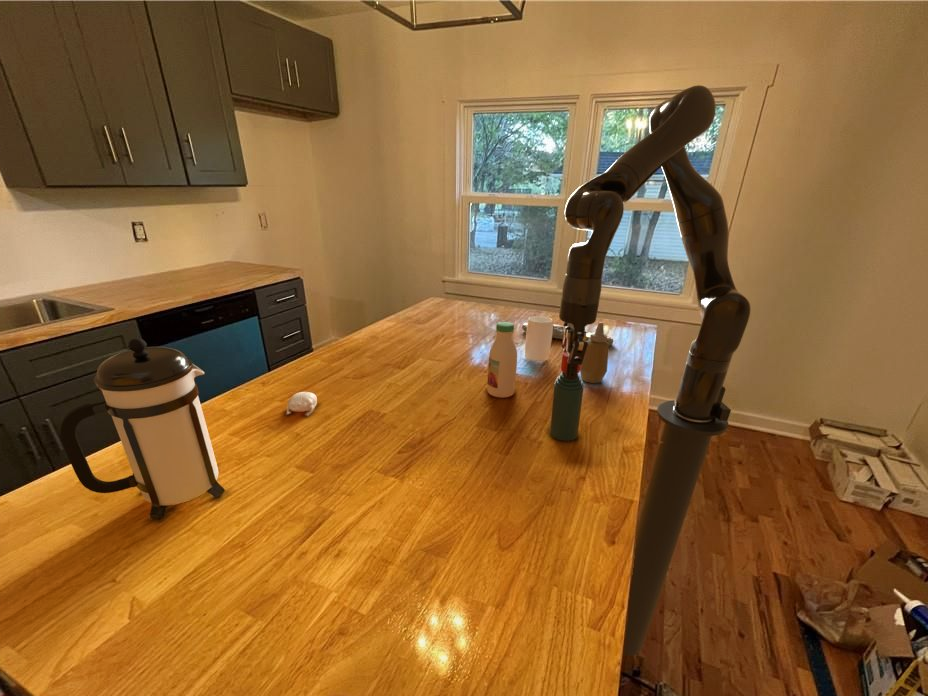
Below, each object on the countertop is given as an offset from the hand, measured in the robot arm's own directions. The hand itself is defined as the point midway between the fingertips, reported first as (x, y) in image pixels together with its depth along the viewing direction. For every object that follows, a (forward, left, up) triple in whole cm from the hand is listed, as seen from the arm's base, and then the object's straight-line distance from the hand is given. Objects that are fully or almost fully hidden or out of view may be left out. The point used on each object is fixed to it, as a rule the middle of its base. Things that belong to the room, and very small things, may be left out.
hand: (568, 374), depth 93 cm
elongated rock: (-14, -70, -16) cm, 73 cm away
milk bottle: (+13, -21, -16) cm, 29 cm away
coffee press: (+74, +27, -16) cm, 80 cm away
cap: (0, 0, +1) cm, 1 cm away
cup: (0, -46, -16) cm, 49 cm away
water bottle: (-1, 0, -15) cm, 15 cm away
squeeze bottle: (-15, -32, -16) cm, 39 cm away
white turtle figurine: (+64, -7, -16) cm, 66 cm away
